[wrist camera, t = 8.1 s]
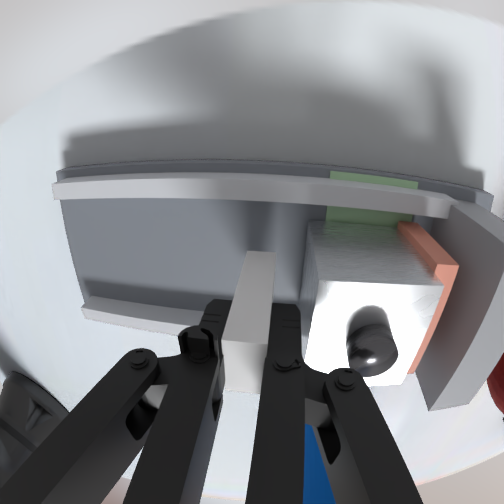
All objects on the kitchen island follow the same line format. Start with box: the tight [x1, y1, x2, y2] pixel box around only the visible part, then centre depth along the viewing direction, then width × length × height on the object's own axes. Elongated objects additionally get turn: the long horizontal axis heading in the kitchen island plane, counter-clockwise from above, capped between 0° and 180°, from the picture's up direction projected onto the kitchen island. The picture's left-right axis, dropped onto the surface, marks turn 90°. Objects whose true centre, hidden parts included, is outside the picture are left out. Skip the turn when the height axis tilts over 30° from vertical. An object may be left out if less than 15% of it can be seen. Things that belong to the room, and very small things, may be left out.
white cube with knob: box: [299, 220, 444, 386], centre depth 13 cm, size 5×6×7 cm
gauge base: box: [52, 160, 504, 411], centre depth 14 cm, size 28×11×8 cm, turn 89°
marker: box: [397, 221, 459, 374], centre depth 14 cm, size 1×6×5 cm, turn 179°
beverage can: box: [303, 424, 336, 504], centre depth 20 cm, size 6×6×12 cm
